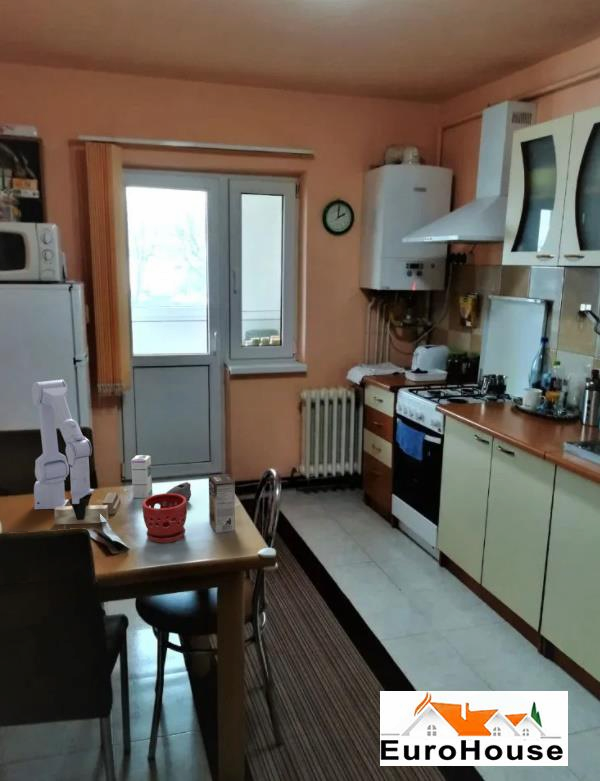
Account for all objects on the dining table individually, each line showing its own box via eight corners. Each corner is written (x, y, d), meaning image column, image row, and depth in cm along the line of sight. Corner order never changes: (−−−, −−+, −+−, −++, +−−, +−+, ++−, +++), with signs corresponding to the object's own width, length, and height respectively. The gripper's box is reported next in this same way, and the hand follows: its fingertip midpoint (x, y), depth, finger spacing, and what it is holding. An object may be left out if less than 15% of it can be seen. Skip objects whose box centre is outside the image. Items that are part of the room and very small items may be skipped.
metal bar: (55, 524, 196) (54, 509, 195) (57, 521, 199) (56, 506, 198) (106, 523, 198) (106, 508, 197) (108, 519, 201) (107, 505, 200)
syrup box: (148, 498, 221) (147, 459, 219) (132, 497, 221) (130, 459, 219) (152, 492, 227) (151, 455, 224) (136, 492, 227) (135, 454, 224)
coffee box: (208, 523, 199) (207, 475, 196) (227, 520, 201) (227, 473, 199) (215, 533, 191) (214, 483, 188) (235, 530, 193) (235, 481, 190)
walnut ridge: (100, 514, 205) (99, 502, 204) (105, 503, 215) (105, 492, 214) (115, 513, 206) (115, 502, 205) (120, 503, 215) (120, 492, 215)
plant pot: (142, 531, 192) (141, 494, 190) (185, 527, 195) (184, 491, 193) (144, 548, 179) (142, 509, 177) (189, 543, 183) (188, 505, 181)
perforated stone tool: (166, 514, 206) (166, 494, 205) (155, 511, 209) (154, 491, 208) (195, 501, 219) (195, 482, 218) (184, 498, 221) (184, 480, 220)
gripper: (87, 484, 189) (89, 525, 192) (97, 470, 204) (99, 509, 206) (64, 484, 189) (66, 526, 191) (75, 470, 203) (77, 509, 205)
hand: (81, 517), depth 198 cm, fingers closed on metal bar, 3 cm apart
